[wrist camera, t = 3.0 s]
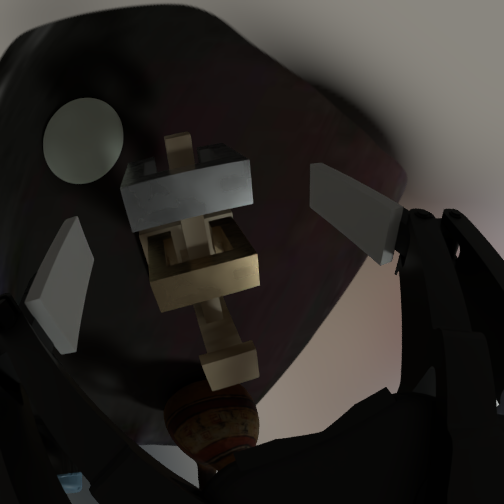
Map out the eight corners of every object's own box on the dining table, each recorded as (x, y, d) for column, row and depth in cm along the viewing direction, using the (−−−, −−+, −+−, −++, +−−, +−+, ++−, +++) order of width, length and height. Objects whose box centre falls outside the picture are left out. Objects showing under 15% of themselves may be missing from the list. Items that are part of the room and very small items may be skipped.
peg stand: (159, 291, 38) (180, 413, 23) (115, 134, 26) (65, 183, 10) (237, 270, 41) (296, 377, 26) (218, 112, 29) (304, 132, 13)
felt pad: (56, 192, 26) (55, 194, 26) (37, 115, 21) (36, 115, 20) (131, 169, 29) (130, 170, 28) (116, 86, 23) (115, 86, 23)
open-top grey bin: (136, 196, 22) (132, 232, 16) (128, 163, 20) (119, 188, 15) (226, 175, 24) (253, 203, 18) (222, 142, 22) (249, 159, 16)
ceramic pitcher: (261, 377, 60) (317, 488, 36) (212, 417, 64) (250, 514, 40) (190, 360, 48) (241, 511, 25) (146, 407, 53) (175, 526, 29)
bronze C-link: (155, 263, 26) (161, 312, 20) (147, 236, 24) (149, 282, 18) (234, 243, 28) (259, 285, 22) (231, 215, 26) (257, 254, 20)
